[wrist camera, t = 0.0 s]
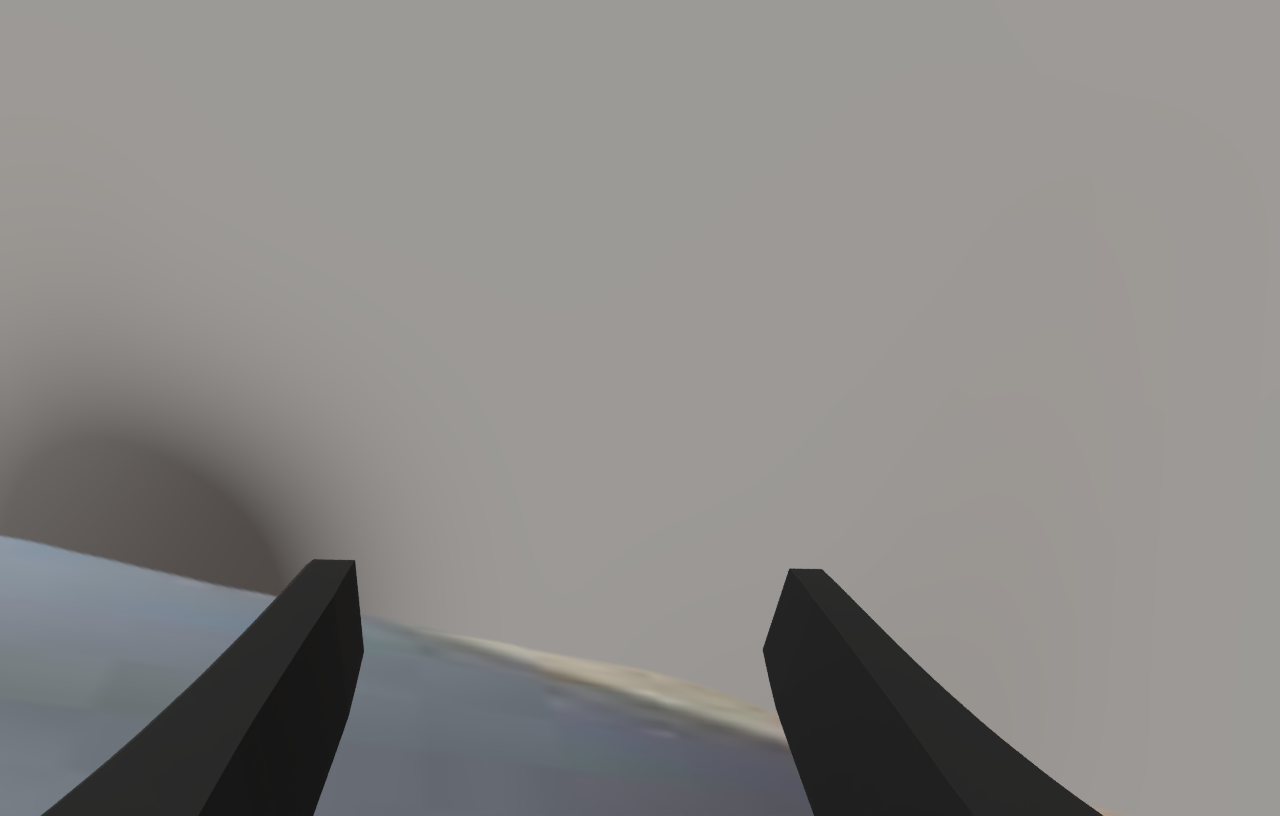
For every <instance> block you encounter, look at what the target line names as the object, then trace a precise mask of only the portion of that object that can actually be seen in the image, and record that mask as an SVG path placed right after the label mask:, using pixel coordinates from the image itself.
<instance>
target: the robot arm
mask: <svg viewBox="0 0 1280 816" xmlns="http://www.w3.org/2000/svg"><path fill="white" fill-rule="evenodd" d="M363 653H364V646H363V636H362V626H361V616H360V606H359V596H358V586H357V577H356V566H355V560H317V559H314V560H312V561H311V562H310V563H308V564H307V565H306V566H305V567H304V568H303V569H302V570H301V572H299V574H298V575H297V576H296V577H295V578H294V579H293V580H292V581H291V583H289V585H288V586H287V587H286V588H285V589H284V590H283V591H282V592H281V593H280V594H279V595H278V597H277V598H276V599H275V600H274V601H273V602H272V603H271V604H270V605H269V606H268V607H267V608H266V609H265V611H264V612H263V613H262V614H261V615H260V616H259V617H258V618H257V619H256V620H255V621H254V622H253V623H252V624H251V625H250V626H249V627H248V628H247V629H246V631H245V632H244V633H243V634H242V635H241V636H240V637H239V638H238V639H237V640H236V641H235V642H234V643H233V644H232V645H231V646H230V647H229V648H228V649H227V650H226V651H225V652H224V653H223V654H222V655H221V656H220V657H219V658H218V659H217V660H216V661H215V662H214V663H213V664H212V665H211V666H210V667H209V668H208V669H207V670H206V671H205V672H204V673H203V674H202V675H201V676H200V677H199V678H198V679H197V680H196V681H195V682H193V683H192V684H191V685H190V686H189V687H188V688H187V689H186V690H185V691H184V692H183V693H182V694H181V695H180V696H178V697H177V698H176V699H175V700H174V701H173V702H172V703H171V704H170V705H169V706H168V707H167V708H166V709H164V710H163V711H162V712H161V713H160V714H159V715H158V716H157V717H156V718H155V719H154V720H153V721H151V722H150V723H149V724H148V725H147V726H146V727H145V728H144V729H143V730H142V731H141V732H140V733H138V734H137V735H136V736H135V737H134V738H133V739H132V740H131V741H129V742H128V743H127V744H126V745H125V746H124V747H123V748H121V749H120V750H119V751H118V752H117V753H116V754H115V755H113V756H112V757H111V758H110V759H109V760H108V761H106V762H105V763H104V764H103V765H102V766H101V767H99V768H98V769H97V770H96V771H95V772H93V773H92V774H91V775H90V776H89V777H88V778H86V779H85V780H84V781H83V782H81V783H80V784H79V785H78V786H77V787H75V788H74V789H73V790H72V791H70V792H69V793H68V794H67V795H66V796H64V797H63V798H62V799H61V800H60V801H58V802H57V803H56V804H55V805H53V806H52V807H51V808H50V809H48V810H47V811H46V812H45V813H43V814H42V815H41V816H313V815H314V812H315V809H316V806H317V804H318V801H319V798H320V795H321V792H322V790H323V787H324V784H325V781H326V779H327V776H328V773H329V770H330V767H331V765H332V762H333V759H334V756H335V753H336V751H337V748H338V745H339V742H340V739H341V736H342V734H343V731H344V728H345V725H346V722H347V719H348V716H349V712H350V708H351V704H352V700H353V696H354V692H355V688H356V684H357V680H358V675H359V671H360V666H361V662H362V658H363ZM763 653H764V658H765V663H766V667H767V672H768V677H769V681H770V686H771V689H772V694H773V698H774V702H775V706H776V710H777V713H778V715H779V718H780V721H781V724H782V727H783V730H784V733H785V736H786V738H787V741H788V744H789V747H790V750H791V753H792V755H793V758H794V761H795V764H796V767H797V769H798V772H799V775H800V778H801V780H802V783H803V786H804V789H805V792H806V794H807V797H808V800H809V803H810V805H811V808H812V811H813V814H814V816H1103V815H1102V814H1100V813H1099V812H1097V811H1096V810H1095V809H1093V808H1092V807H1090V806H1089V805H1087V804H1086V803H1085V802H1083V801H1082V800H1080V799H1079V798H1078V797H1076V796H1075V795H1074V794H1072V793H1071V792H1069V791H1068V790H1067V789H1065V788H1064V787H1063V786H1061V785H1060V784H1059V783H1057V782H1056V781H1055V780H1053V779H1052V778H1051V777H1049V776H1048V775H1047V774H1045V773H1044V772H1043V771H1042V770H1040V769H1039V768H1038V767H1037V766H1035V765H1034V764H1033V763H1032V762H1030V761H1029V760H1028V759H1027V758H1025V757H1024V756H1023V755H1021V754H1020V753H1019V752H1018V751H1016V750H1015V749H1014V748H1013V747H1011V746H1010V745H1009V744H1008V743H1006V742H1005V741H1004V740H1003V739H1001V738H1000V737H999V736H998V735H997V734H995V733H994V732H993V731H992V730H991V729H989V728H988V727H987V726H986V725H985V724H984V723H982V722H981V721H980V720H979V719H978V718H977V717H975V716H974V715H973V714H972V713H971V712H970V711H969V710H967V709H966V708H965V707H964V706H963V705H962V704H961V703H959V701H957V700H956V699H955V698H954V697H953V696H952V695H951V694H950V693H948V692H947V691H946V690H945V689H944V688H943V687H942V686H941V685H940V684H939V683H937V682H936V681H935V680H934V679H933V678H932V677H931V676H930V675H929V674H928V673H927V672H926V671H925V670H923V668H921V667H920V666H919V665H918V664H917V663H916V662H915V661H914V660H913V659H912V658H911V657H910V656H909V655H908V654H907V653H906V652H905V651H904V650H903V649H902V648H901V647H900V646H899V645H897V643H896V642H895V641H894V640H892V638H891V637H890V636H889V635H888V634H886V632H884V630H882V628H881V627H880V626H879V625H878V624H877V623H876V622H875V621H874V620H873V619H871V617H870V616H868V614H867V613H866V612H865V611H864V610H862V608H861V607H860V606H859V605H858V604H857V603H856V602H855V601H854V600H853V599H852V598H851V597H850V596H849V595H847V593H846V592H845V591H844V590H843V589H842V588H841V587H840V586H839V585H838V584H837V583H836V582H834V580H833V579H832V578H831V577H830V576H828V575H827V574H826V573H825V572H824V571H823V570H822V569H789V571H788V575H787V577H786V580H785V583H784V586H783V590H782V593H781V596H780V599H779V602H778V605H777V608H776V611H775V614H774V617H773V620H772V623H771V626H770V629H769V632H768V635H767V638H766V641H765V644H764V647H763Z"/></svg>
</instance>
